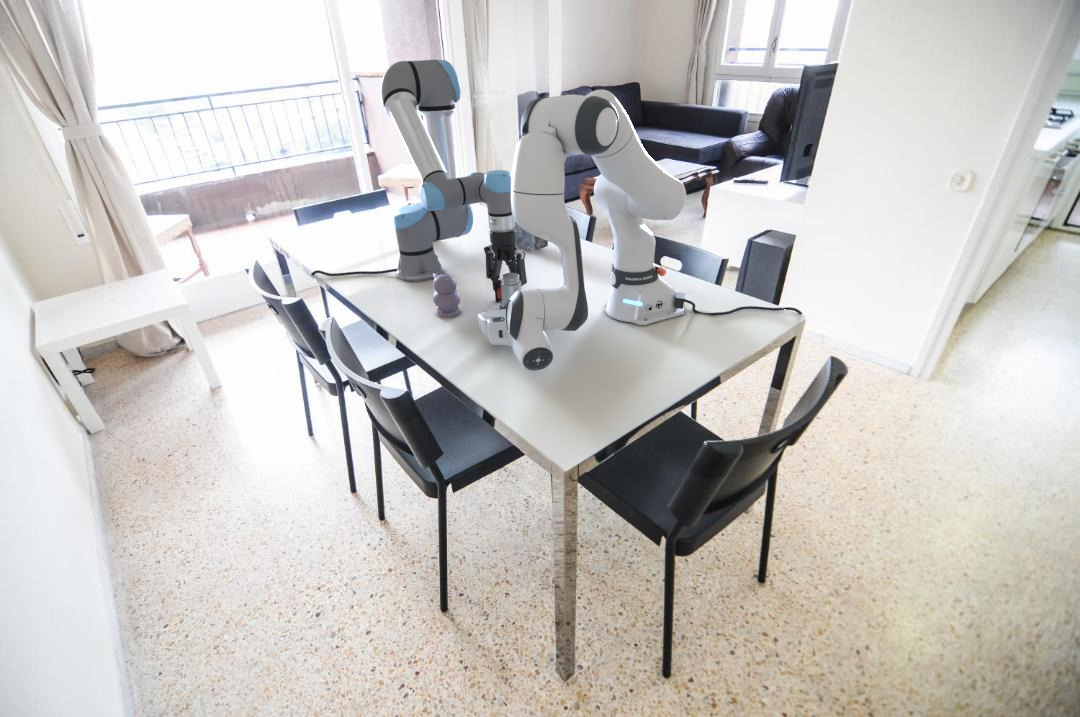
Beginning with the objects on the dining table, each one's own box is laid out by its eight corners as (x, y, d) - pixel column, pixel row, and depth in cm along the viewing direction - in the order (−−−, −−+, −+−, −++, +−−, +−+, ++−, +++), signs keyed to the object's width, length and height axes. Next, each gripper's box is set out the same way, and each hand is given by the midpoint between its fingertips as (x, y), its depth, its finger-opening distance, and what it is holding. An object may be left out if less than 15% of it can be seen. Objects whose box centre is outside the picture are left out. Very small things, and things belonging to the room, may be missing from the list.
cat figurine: (468, 312, 148) (463, 274, 142) (447, 321, 143) (441, 282, 137) (450, 304, 153) (445, 267, 147) (429, 313, 148) (423, 275, 142)
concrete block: (553, 252, 189) (552, 199, 179) (534, 258, 185) (532, 204, 175) (514, 236, 208) (511, 187, 198) (496, 241, 204) (492, 191, 193)
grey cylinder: (500, 330, 138) (496, 277, 130) (511, 322, 142) (507, 270, 133) (516, 334, 135) (513, 281, 127) (527, 326, 139) (524, 273, 131)
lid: (521, 294, 152) (521, 288, 151) (508, 301, 148) (507, 295, 147) (506, 290, 155) (506, 284, 154) (493, 297, 151) (492, 290, 150)
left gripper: (468, 227, 143) (476, 301, 155) (521, 237, 134) (526, 314, 146) (485, 221, 148) (491, 292, 160) (537, 229, 139) (540, 305, 151)
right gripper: (562, 311, 125) (548, 290, 136) (481, 323, 121) (474, 300, 132) (562, 333, 128) (548, 310, 139) (484, 345, 124) (476, 321, 135)
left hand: (508, 302), depth 153 cm, fingers closed on lid, 6 cm apart
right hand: (511, 305), depth 136 cm, fingers closed on grey cylinder, 5 cm apart
